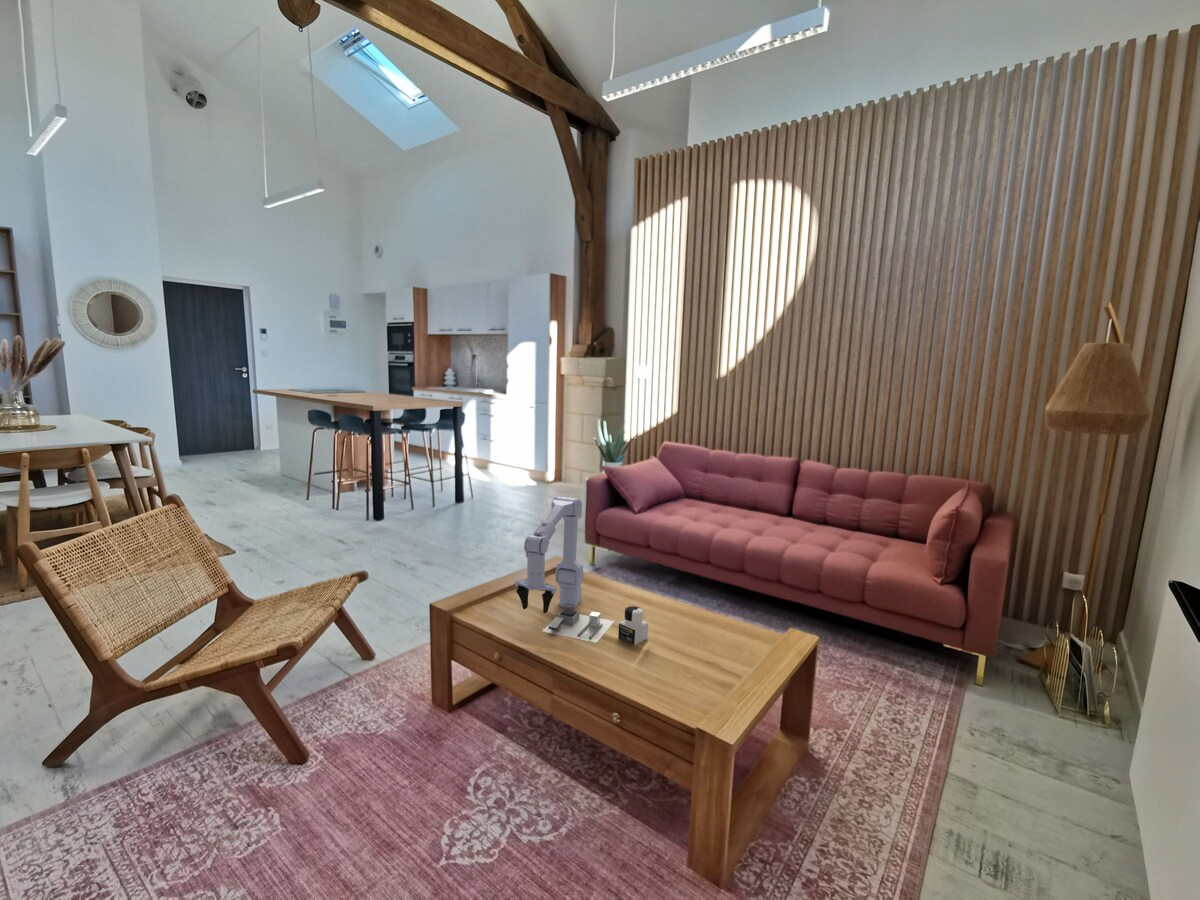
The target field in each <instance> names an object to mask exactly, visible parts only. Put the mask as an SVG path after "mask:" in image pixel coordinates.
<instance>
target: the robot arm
mask: <svg viewBox="0 0 1200 900" xmlns="http://www.w3.org/2000/svg"><path fill="white" fill-rule="evenodd" d="M550 510H551V511H550V512H549V514H548V516H547V518H546V520H543V521H541V522H540V523H539V525H538V527H537V528H536V529H535V531H534V532H533V534H530V535H529V536H527V537H526V539H525V541H524V545H523V548H524V551H525V558H526V559H527V563H526V564H527V565H526V570H527V571H526V575H527V577H526V578H527V579H517V580H516V581H515V582H514V583H515V584H514V586H515V588H516V593H517V595H518V597H519V599H520V602H521V605H522V606H521V607H522V610H526V609H527V608H528V606H529V593H530V591H534V590H536V591H540V592H543V593H542V594H541V598H542V604H543V607H542V613H543V614H547V613H548V612H549V608H550V605H551V601H552V599H553V597H554V595H555V594H556V593H557V591H558V586H559V599H558V600H559V601H558V603H559V606H560V607H562V608H563V605H564V604H573V605H574V608H577V606H578V605H579V603H580V602H581V601H582V593H583V592H582V590H583V589H582V586H581V585H582V584H583V582H584V579H585V575H584V574H585V573H584V565H583V564H582V563H580V562H579V561H578V560H577V546H578V545H577V542H578V519H582V514H583V502H582V500H581V499H580V498H579V497H568V496H559V495H555V496H554V497H553V498H552V501H551V509H550ZM561 520H563V521H564V523H563V526H564V527H563V545H562V546H563V547H562V548H563V549H562V550H563V551H562V560H560V561H559V562H558V563H557V564H556V570H555V574H554V579H555V582H556V583H557V585H558V586H556V585H553V584H549V583H547V582H545V579H546V578H545V572H546V571H545V569H546V558H545V557H546V554H547V552H548V549H549V545H550V540H551V538H553V536H554V534H555V533H556V526H557V524H558V523H559V522H560V521H561Z"/></svg>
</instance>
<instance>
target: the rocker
mask: <svg viewBox="0 0 1200 900" xmlns="http://www.w3.org/2000/svg"><path fill="white" fill-rule="evenodd" d="M563 621H564V618H560V617H557V616H555V617H554V619H553V620H552V621H551V622H550V623H551V624H550V623H549V624H550V625H549V624H548V625H549V626H548V625H547V626H548V627H549V629H551V630H556V631H557V629H558V628H559V627H560V625H561V624H562V623H563Z"/></svg>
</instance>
